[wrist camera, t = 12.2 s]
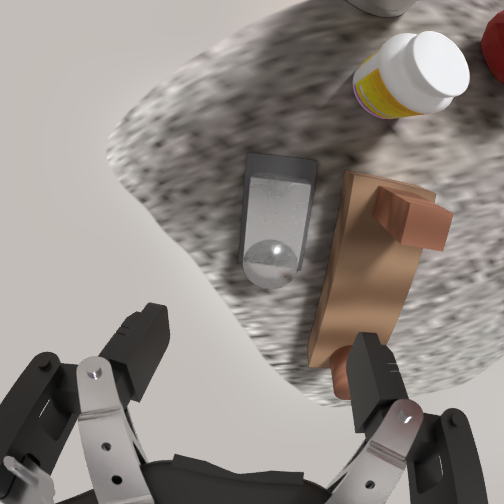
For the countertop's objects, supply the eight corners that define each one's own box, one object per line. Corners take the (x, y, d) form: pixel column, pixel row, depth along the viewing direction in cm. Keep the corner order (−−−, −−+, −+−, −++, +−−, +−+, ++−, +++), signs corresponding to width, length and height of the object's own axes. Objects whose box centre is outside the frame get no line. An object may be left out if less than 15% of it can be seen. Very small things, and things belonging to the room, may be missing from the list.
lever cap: (255, 172, 27) (250, 177, 23) (307, 178, 26) (311, 185, 23) (246, 267, 31) (240, 285, 27) (292, 273, 31) (293, 292, 27)
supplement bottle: (401, 129, 24) (473, 130, 12) (344, 105, 24) (390, 82, 12) (413, 76, 21) (482, 51, 9) (358, 51, 21) (403, 2, 9)
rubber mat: (247, 152, 27) (247, 152, 26) (317, 160, 26) (317, 161, 26) (239, 260, 31) (238, 262, 31) (300, 268, 31) (300, 270, 30)
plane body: (344, 170, 26) (379, 189, 16) (419, 186, 26) (476, 213, 16) (307, 347, 35) (310, 412, 25) (367, 350, 35) (384, 411, 25)
